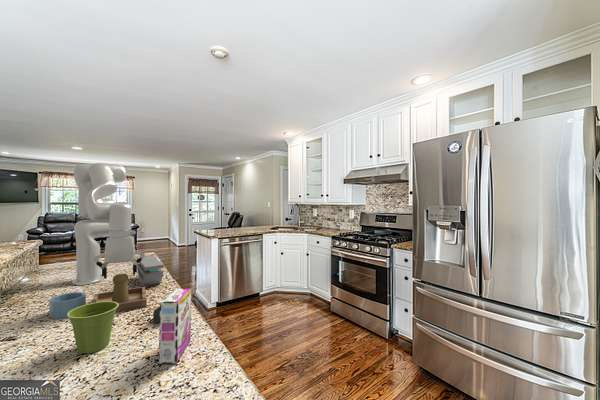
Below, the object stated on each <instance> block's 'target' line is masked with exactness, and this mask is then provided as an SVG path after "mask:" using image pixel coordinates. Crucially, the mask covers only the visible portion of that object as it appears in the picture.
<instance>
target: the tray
mask: <svg viewBox="0 0 600 400" xmlns="http://www.w3.org/2000/svg"><path fill="white" fill-rule="evenodd" d="M146 291H147V290H146V286H144V287H142V286H140V287H139V286H138V287H132V288H128V295H129V301H127V302H124V303H118V304H119V306H118V307H117V309H116V313H115V314H118V313H123V312H127V311H129V312H130V311H132V310H138V309H143V308H147V292H146ZM112 296H113V290H112V291H105V292H98V293H94V295H93V298H92V301H91V303H96V302H103V301H112Z"/></svg>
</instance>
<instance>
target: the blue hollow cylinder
mask: <svg viewBox="0 0 600 400" xmlns="http://www.w3.org/2000/svg"><path fill="white" fill-rule="evenodd" d="M48 301H49V306H48V307H49V309H48V310H49V311H48V312H49V313H48V314H49V318H50V319H51V320H61V319H62V320H63V319H67V318H69V317H68V316H67V313H68V312H69V311H71V310H73V309H75V308H77V307H79V306H83V305H86V304H87V292H84V291H75V292H72V291H71V292H67V293H62V294H59V295H56V296H53V297H51V298H50V299H49V300H48Z"/></svg>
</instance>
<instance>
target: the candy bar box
mask: <svg viewBox="0 0 600 400" xmlns="http://www.w3.org/2000/svg"><path fill="white" fill-rule="evenodd" d="M159 307H160V324H159V335H158V336H159V340H158V342H159V343H158V364H159V365H174V364H175V365H176V364H178V362H179V360H180V358H181V357H182V355H183V354H184V353H185V350H186V349H187V347H188V345H189V344H190V343H191V329H192V328H191V324H192V323H191V318H192V314H191V313H192V288H174V290H173V291H172V292H170V293H169V294H168V295H167V296H166V297H165V298H164V299H163V300H161V301H160V302H159Z"/></svg>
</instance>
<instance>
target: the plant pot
mask: <svg viewBox="0 0 600 400" xmlns="http://www.w3.org/2000/svg"><path fill="white" fill-rule="evenodd" d="M118 306H119V304H118V303H117V302H112V301H103V302H96V303H92V302H91V303H86V305H83V306H79V307H77V308H75V309H73V310H71V311H69V312H68V313H67V316H68V318H69V321H70V324H71V326H72V330H73V335H74V339H75V345H76V350H77V352H78V353H79V354H93V353H96V352H98V351H101V350H103V349H105V347H106V346H108V345H109V343H110V340H111V336H112V335H111V334H112V330H113V324H114V317H115V315H116V314H117V313H116V309H117V307H118Z"/></svg>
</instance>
